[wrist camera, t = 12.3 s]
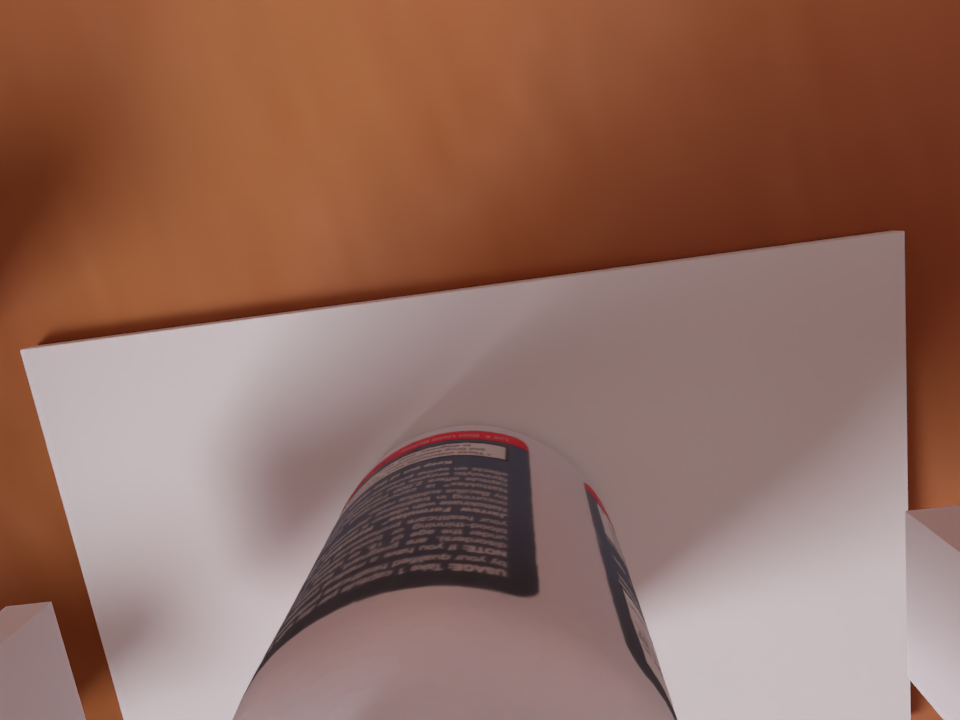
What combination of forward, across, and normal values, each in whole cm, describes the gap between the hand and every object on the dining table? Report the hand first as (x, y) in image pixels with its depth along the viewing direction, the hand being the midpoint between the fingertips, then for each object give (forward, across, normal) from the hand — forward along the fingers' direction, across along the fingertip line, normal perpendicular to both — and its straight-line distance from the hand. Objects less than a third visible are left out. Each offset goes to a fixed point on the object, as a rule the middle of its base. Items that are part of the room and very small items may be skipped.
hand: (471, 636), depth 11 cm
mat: (+3, 0, 0) cm, 3 cm away
